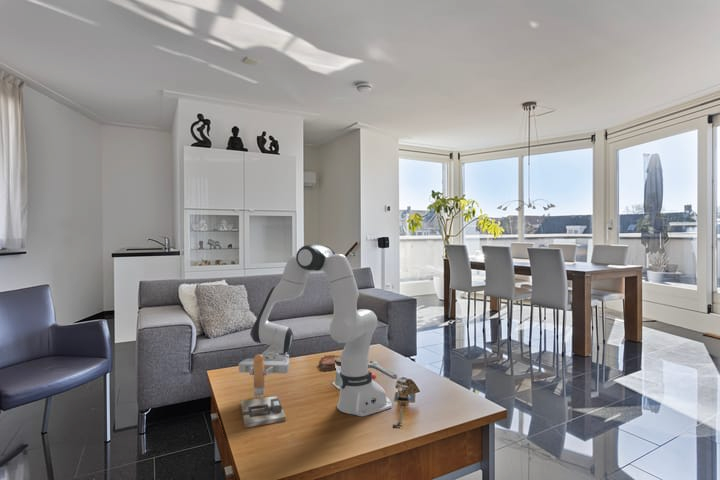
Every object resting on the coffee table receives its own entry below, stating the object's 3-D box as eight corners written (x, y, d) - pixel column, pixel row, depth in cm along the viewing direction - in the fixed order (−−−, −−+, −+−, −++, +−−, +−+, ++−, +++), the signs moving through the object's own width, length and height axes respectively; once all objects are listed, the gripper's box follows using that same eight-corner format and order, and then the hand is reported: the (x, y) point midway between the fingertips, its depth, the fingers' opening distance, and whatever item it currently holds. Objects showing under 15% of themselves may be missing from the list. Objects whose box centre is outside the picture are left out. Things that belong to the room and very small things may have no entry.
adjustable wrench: (398, 378, 190) (398, 375, 190) (387, 380, 187) (387, 377, 187) (374, 362, 212) (374, 359, 212) (363, 364, 209) (363, 361, 209)
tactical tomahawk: (410, 432, 139) (410, 429, 139) (392, 429, 141) (392, 426, 141) (416, 406, 160) (416, 403, 160) (400, 403, 161) (400, 400, 161)
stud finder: (278, 404, 156) (278, 398, 156) (281, 411, 150) (281, 405, 150) (270, 405, 155) (270, 399, 155) (273, 413, 149) (273, 406, 149)
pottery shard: (317, 362, 214) (317, 355, 213) (345, 359, 217) (344, 352, 217) (321, 372, 198) (320, 365, 198) (350, 369, 201) (350, 362, 201)
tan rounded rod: (263, 390, 153) (263, 352, 152) (264, 394, 149) (264, 355, 149) (253, 392, 151) (253, 353, 151) (254, 396, 148) (254, 356, 147)
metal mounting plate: (277, 399, 165) (277, 393, 165) (285, 420, 146) (285, 414, 146) (241, 404, 159) (241, 399, 159) (244, 427, 141) (244, 421, 141)
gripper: (245, 353, 164) (232, 364, 150) (292, 354, 162) (283, 365, 148) (245, 367, 164) (232, 380, 150) (292, 369, 162) (283, 381, 148)
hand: (258, 373), depth 149 cm, fingers closed on tan rounded rod, 4 cm apart
